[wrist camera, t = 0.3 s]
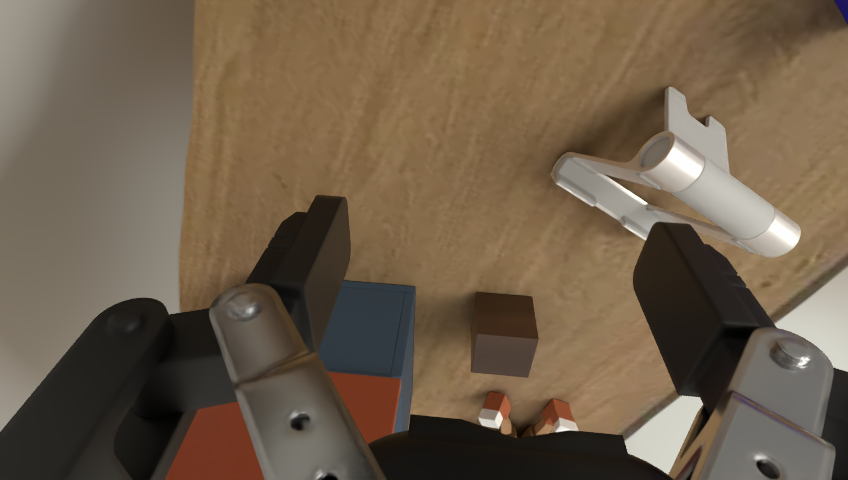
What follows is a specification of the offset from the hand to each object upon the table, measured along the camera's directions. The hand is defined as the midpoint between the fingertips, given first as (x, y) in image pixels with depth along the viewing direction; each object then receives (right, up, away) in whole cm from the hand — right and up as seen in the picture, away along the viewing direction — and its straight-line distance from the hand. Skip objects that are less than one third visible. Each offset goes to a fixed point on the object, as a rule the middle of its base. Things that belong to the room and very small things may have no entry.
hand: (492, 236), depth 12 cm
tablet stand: (+12, +5, +17) cm, 21 cm away
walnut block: (+5, -6, +26) cm, 27 cm away
